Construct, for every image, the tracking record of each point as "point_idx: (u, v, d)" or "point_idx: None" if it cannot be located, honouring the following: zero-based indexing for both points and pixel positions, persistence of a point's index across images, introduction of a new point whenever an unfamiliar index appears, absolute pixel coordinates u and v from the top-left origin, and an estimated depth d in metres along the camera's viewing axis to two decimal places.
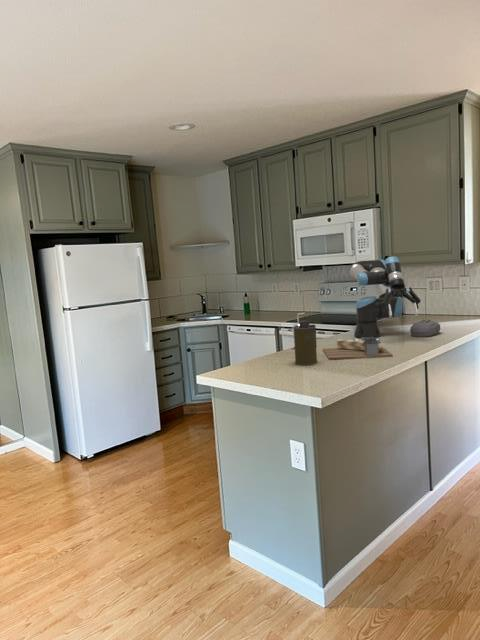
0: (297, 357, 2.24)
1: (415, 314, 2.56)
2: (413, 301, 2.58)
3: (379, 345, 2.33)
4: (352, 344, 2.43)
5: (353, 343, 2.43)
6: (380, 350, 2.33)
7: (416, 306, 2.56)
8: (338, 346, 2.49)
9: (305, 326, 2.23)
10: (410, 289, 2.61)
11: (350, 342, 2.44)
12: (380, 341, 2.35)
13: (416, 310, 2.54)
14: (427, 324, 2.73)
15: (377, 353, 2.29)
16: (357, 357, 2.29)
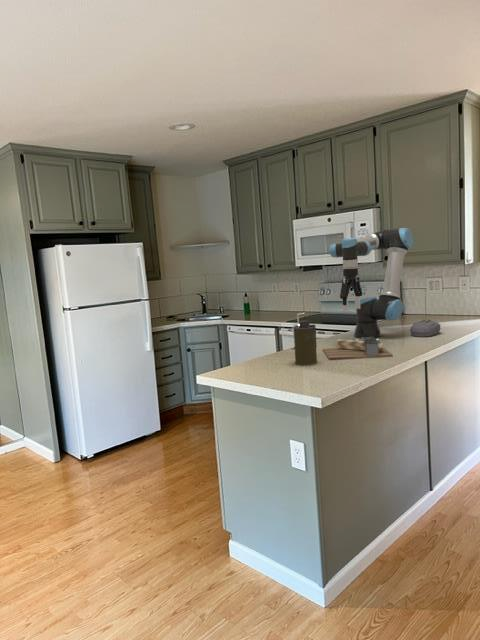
0: (297, 357, 2.24)
1: None
2: None
3: (379, 345, 2.33)
4: (352, 344, 2.43)
5: (353, 343, 2.43)
6: (380, 350, 2.33)
7: (343, 303, 2.47)
8: (338, 346, 2.49)
9: (305, 326, 2.23)
10: None
11: (350, 342, 2.44)
12: (380, 341, 2.35)
13: None
14: (427, 324, 2.73)
15: (377, 353, 2.29)
16: (357, 357, 2.29)
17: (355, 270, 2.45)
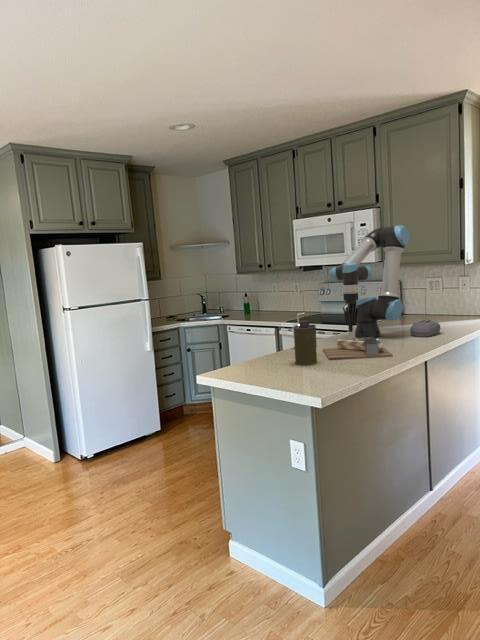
0: (297, 357, 2.24)
1: None
2: None
3: (379, 345, 2.33)
4: (352, 344, 2.43)
5: (353, 343, 2.43)
6: (380, 350, 2.33)
7: None
8: (338, 346, 2.49)
9: (305, 326, 2.23)
10: None
11: (350, 342, 2.44)
12: (380, 341, 2.35)
13: (349, 334, 2.53)
14: (427, 324, 2.73)
15: (377, 353, 2.29)
16: (357, 357, 2.29)
17: (355, 295, 2.47)
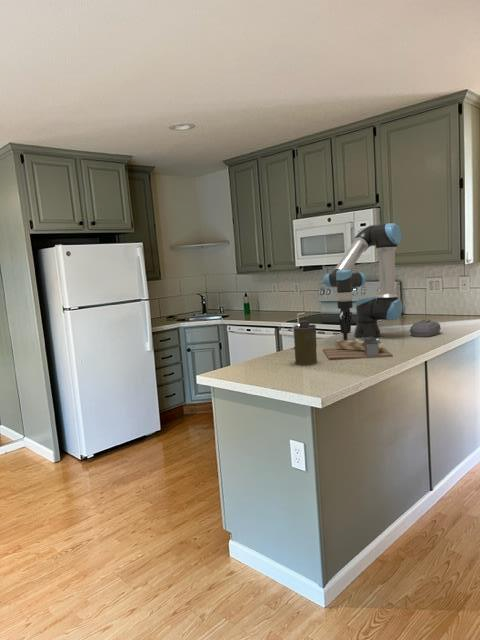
0: (297, 357, 2.24)
1: None
2: None
3: (379, 345, 2.33)
4: (352, 344, 2.43)
5: (352, 343, 2.42)
6: (380, 350, 2.33)
7: (343, 338, 2.49)
8: (337, 346, 2.48)
9: (305, 326, 2.23)
10: None
11: (349, 342, 2.43)
12: (380, 341, 2.35)
13: None
14: (427, 324, 2.73)
15: (377, 353, 2.29)
16: (357, 357, 2.29)
17: (350, 302, 2.43)
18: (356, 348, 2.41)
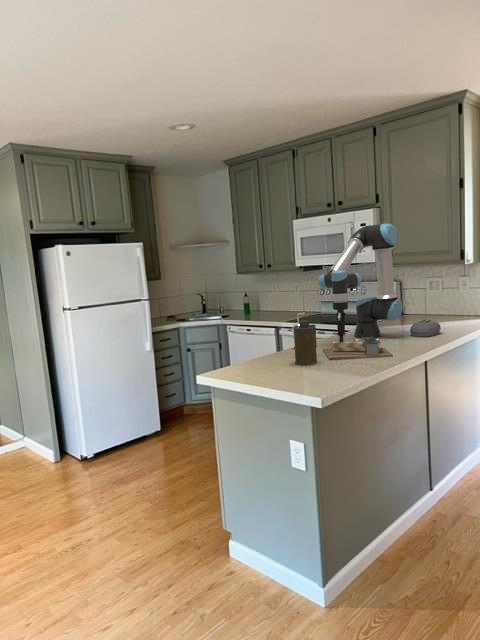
0: (297, 357, 2.24)
1: None
2: None
3: (380, 345, 2.33)
4: (350, 345, 2.40)
5: (351, 344, 2.40)
6: (381, 350, 2.34)
7: None
8: (334, 348, 2.43)
9: (305, 326, 2.23)
10: None
11: (348, 344, 2.40)
12: (380, 341, 2.35)
13: None
14: (427, 324, 2.73)
15: (377, 353, 2.29)
16: (357, 357, 2.29)
17: (347, 304, 2.40)
18: (355, 349, 2.39)
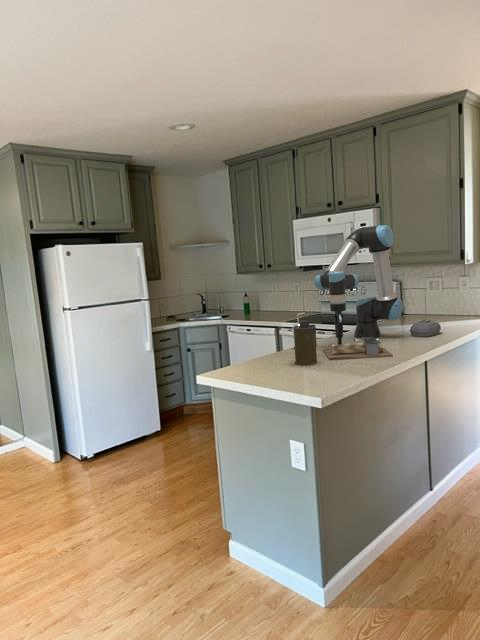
0: (297, 357, 2.24)
1: None
2: None
3: (382, 345, 2.34)
4: (351, 347, 2.35)
5: (351, 346, 2.35)
6: (382, 349, 2.34)
7: (337, 342, 2.39)
8: (334, 351, 2.36)
9: (305, 326, 2.23)
10: (337, 320, 2.33)
11: (348, 345, 2.35)
12: (380, 341, 2.35)
13: None
14: (427, 324, 2.73)
15: (377, 353, 2.29)
16: (357, 357, 2.29)
17: (345, 305, 2.35)
18: (356, 351, 2.35)
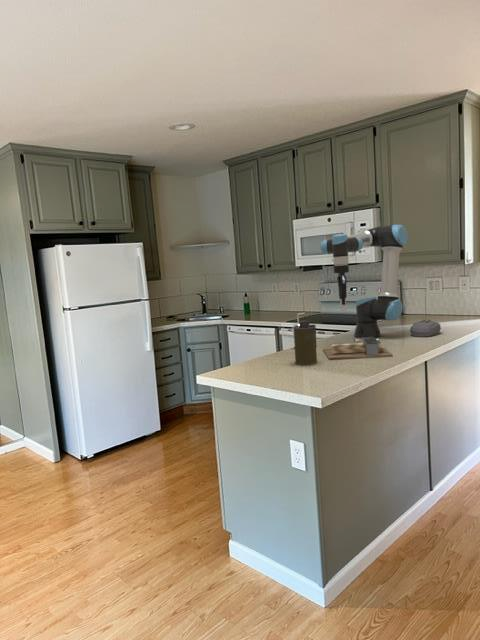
0: (297, 357, 2.24)
1: None
2: None
3: (382, 345, 2.34)
4: (351, 347, 2.35)
5: (351, 346, 2.35)
6: (382, 349, 2.34)
7: (340, 303, 2.46)
8: (334, 351, 2.36)
9: (305, 326, 2.23)
10: (341, 281, 2.40)
11: (348, 345, 2.35)
12: (380, 341, 2.35)
13: (340, 307, 2.47)
14: (427, 324, 2.73)
15: (377, 353, 2.29)
16: (357, 357, 2.29)
17: (348, 266, 2.43)
18: (356, 351, 2.35)
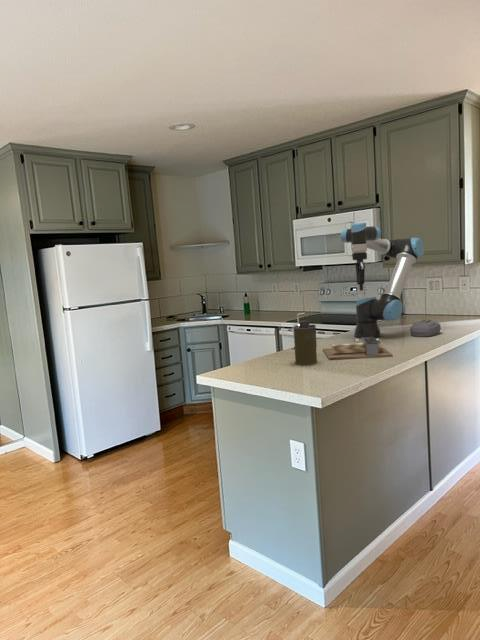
0: (297, 357, 2.24)
1: None
2: None
3: (382, 345, 2.34)
4: (351, 347, 2.35)
5: (351, 346, 2.35)
6: (382, 349, 2.34)
7: (358, 289, 2.58)
8: (334, 351, 2.36)
9: (305, 326, 2.23)
10: (359, 267, 2.52)
11: (348, 345, 2.35)
12: (380, 341, 2.35)
13: (358, 293, 2.58)
14: (427, 324, 2.73)
15: (377, 353, 2.29)
16: (357, 357, 2.29)
17: (366, 254, 2.55)
18: (356, 351, 2.35)
